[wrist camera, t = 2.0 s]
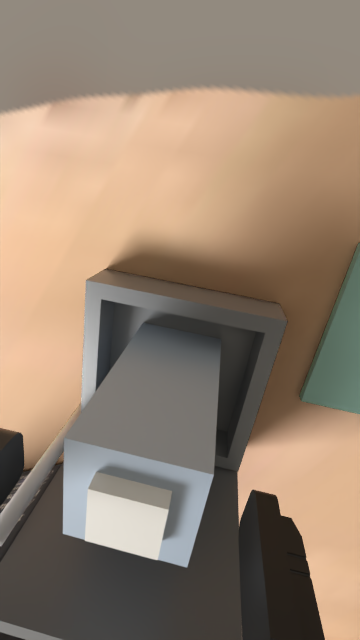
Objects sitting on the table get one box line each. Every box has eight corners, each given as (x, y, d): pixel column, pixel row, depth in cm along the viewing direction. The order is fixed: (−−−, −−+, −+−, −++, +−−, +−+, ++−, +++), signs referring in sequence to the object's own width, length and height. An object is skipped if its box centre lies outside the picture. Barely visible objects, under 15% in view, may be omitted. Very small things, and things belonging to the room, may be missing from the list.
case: (279, 303, 16) (364, 483, 6) (233, 451, 20) (237, 703, 10) (88, 265, 17) (-122, 367, 7) (82, 414, 21) (-54, 615, 11)
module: (221, 339, 17) (213, 493, 8) (205, 403, 19) (184, 588, 10) (143, 322, 17) (53, 453, 8) (135, 387, 19) (53, 551, 10)
